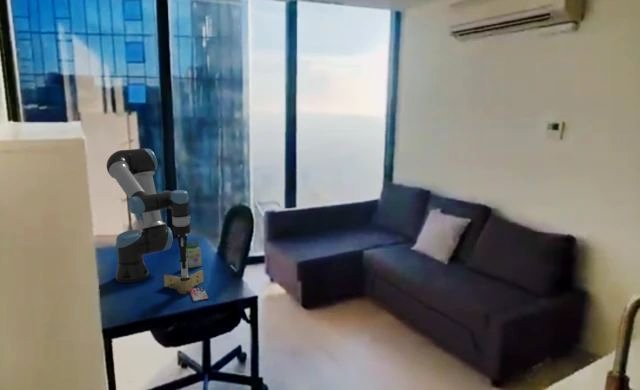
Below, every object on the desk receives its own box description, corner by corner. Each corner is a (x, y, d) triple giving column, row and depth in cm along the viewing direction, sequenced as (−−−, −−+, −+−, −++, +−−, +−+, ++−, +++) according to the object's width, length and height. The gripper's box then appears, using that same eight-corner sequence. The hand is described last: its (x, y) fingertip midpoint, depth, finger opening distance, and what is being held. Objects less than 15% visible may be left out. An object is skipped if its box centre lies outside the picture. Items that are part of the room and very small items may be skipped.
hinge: (164, 286, 217) (163, 274, 215) (195, 276, 228) (194, 265, 227) (180, 296, 206) (179, 284, 205) (211, 285, 218) (210, 274, 216)
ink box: (188, 268, 238) (187, 244, 235) (186, 266, 242) (185, 242, 239) (202, 266, 242) (200, 242, 239) (199, 263, 245) (198, 240, 242)
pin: (180, 285, 211) (178, 254, 208) (186, 283, 213) (184, 253, 210) (184, 287, 209) (182, 256, 206) (190, 285, 211) (188, 254, 208)
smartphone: (192, 301, 200) (187, 288, 214) (193, 303, 200) (187, 290, 214) (209, 298, 203) (203, 285, 217) (210, 300, 204) (203, 287, 217)
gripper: (189, 228, 198) (193, 278, 203) (190, 219, 213) (193, 266, 218) (171, 230, 196) (175, 280, 201) (173, 220, 211) (176, 267, 216)
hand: (184, 272), depth 210 cm, fingers closed on pin, 3 cm apart
